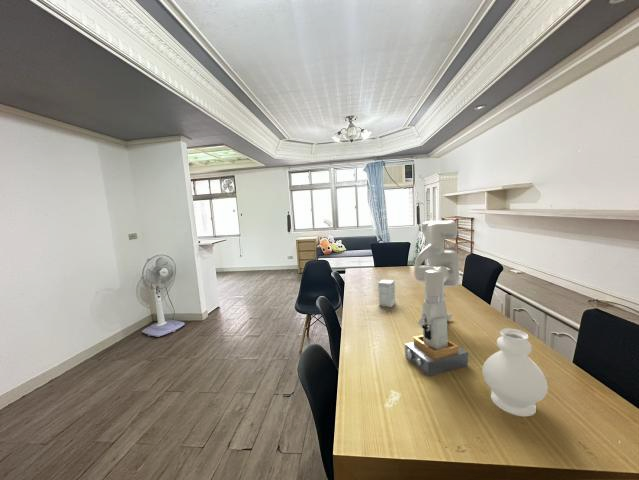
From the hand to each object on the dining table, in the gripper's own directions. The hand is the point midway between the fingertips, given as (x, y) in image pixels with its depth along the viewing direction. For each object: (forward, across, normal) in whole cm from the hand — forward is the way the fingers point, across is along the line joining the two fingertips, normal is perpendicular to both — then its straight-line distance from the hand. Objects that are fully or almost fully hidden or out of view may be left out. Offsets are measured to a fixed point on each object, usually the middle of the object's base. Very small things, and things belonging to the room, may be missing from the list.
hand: (434, 336), depth 117 cm
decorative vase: (+11, -7, +30) cm, 33 cm away
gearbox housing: (+11, 0, 0) cm, 11 cm away
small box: (+4, 0, 0) cm, 4 cm away
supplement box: (+12, -16, -69) cm, 72 cm away
